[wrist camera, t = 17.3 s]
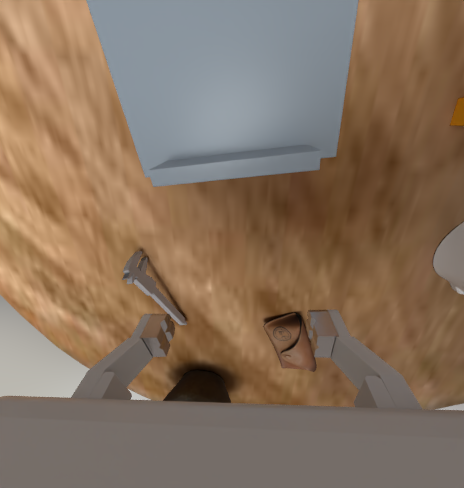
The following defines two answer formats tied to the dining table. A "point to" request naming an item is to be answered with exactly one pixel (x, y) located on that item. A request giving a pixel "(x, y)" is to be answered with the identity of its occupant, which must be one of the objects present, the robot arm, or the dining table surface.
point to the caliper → (149, 285)
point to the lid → (228, 83)
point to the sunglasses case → (291, 342)
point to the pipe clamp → (458, 113)
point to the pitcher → (199, 388)
